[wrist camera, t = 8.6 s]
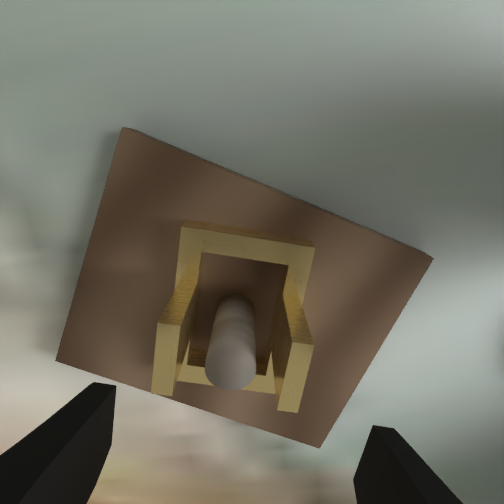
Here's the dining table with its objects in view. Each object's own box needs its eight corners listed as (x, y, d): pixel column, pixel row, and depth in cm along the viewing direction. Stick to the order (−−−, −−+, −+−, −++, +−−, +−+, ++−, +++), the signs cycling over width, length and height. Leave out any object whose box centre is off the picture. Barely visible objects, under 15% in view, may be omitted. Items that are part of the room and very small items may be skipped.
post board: (422, 251, 18) (500, 300, 13) (315, 432, 22) (338, 534, 16) (131, 128, 16) (67, 120, 11) (66, 348, 20) (-8, 430, 14)
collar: (309, 239, 17) (336, 281, 12) (279, 376, 19) (290, 463, 14) (187, 219, 17) (157, 254, 11) (171, 361, 19) (140, 444, 14)
